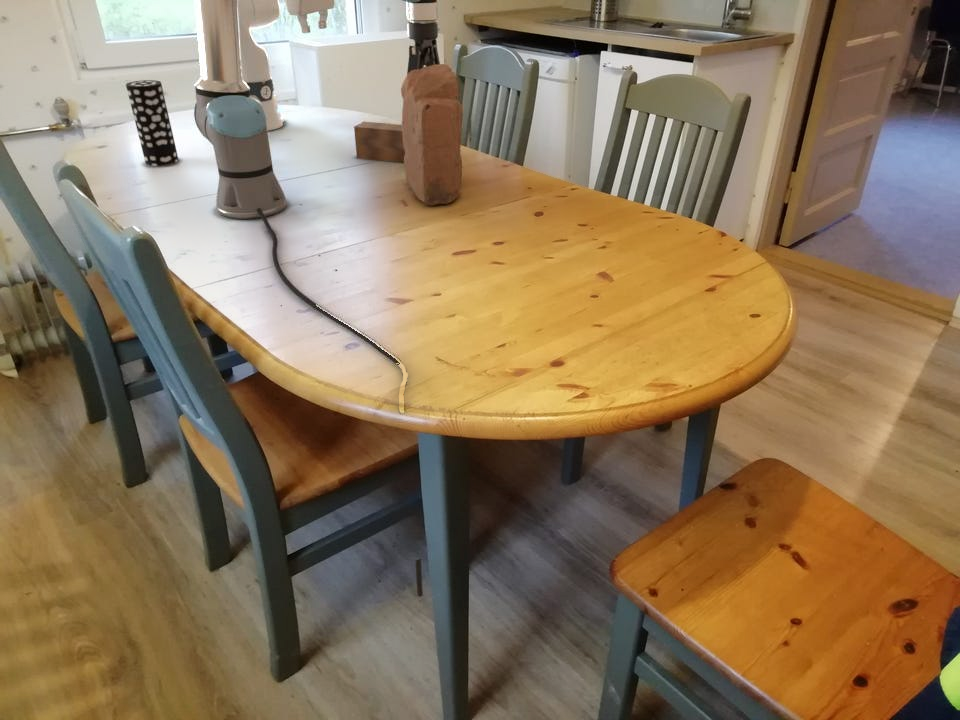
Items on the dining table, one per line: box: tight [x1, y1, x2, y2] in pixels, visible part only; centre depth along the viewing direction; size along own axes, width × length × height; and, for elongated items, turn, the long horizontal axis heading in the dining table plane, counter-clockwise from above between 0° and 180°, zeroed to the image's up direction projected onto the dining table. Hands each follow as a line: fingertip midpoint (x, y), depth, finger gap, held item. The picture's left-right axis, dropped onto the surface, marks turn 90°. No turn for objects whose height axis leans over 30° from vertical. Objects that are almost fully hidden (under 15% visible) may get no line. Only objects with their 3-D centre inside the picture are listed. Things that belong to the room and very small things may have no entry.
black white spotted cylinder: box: [125, 79, 179, 167], centre depth 181 cm, size 8×8×20 cm
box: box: [353, 121, 405, 164], centre depth 189 cm, size 24×6×8 cm, turn 74°
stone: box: [400, 63, 464, 206], centre depth 161 cm, size 22×11×28 cm, turn 18°
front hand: (425, 109), depth 182 cm, fingers open, 13 cm apart
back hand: (314, 30), depth 187 cm, fingers open, 8 cm apart
